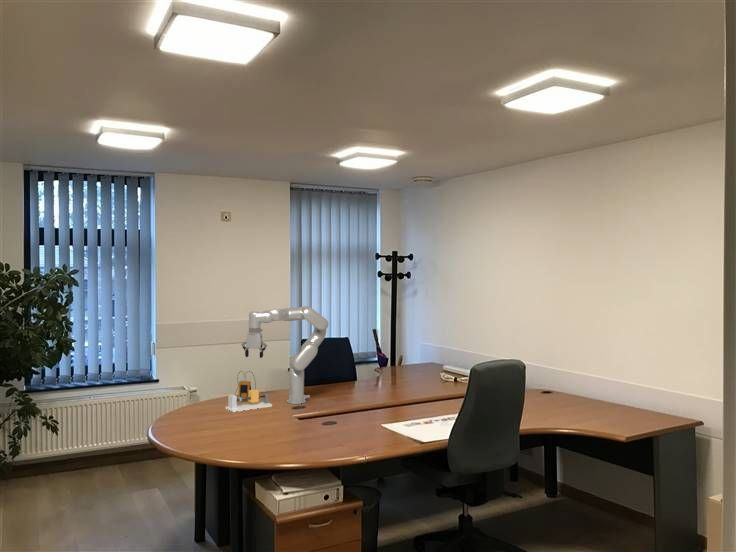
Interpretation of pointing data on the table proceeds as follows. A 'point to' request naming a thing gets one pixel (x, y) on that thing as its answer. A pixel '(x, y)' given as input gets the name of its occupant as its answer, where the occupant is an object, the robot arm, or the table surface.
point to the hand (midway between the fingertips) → (254, 357)
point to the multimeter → (244, 388)
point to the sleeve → (253, 396)
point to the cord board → (234, 407)
